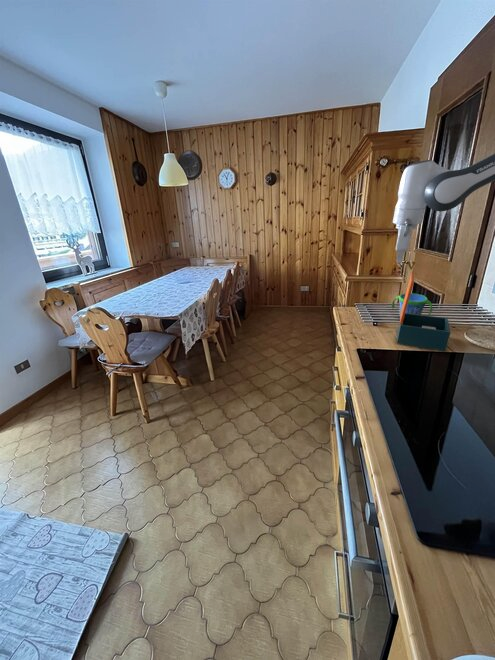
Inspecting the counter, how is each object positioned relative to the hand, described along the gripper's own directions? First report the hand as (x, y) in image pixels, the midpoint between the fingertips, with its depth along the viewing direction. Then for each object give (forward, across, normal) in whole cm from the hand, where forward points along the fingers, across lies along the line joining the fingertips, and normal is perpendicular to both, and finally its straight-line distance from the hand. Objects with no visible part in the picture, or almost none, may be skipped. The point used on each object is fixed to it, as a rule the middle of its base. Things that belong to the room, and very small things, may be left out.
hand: (399, 259), depth 100 cm
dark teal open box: (+30, 0, -13) cm, 33 cm away
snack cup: (+30, +19, -9) cm, 37 cm away
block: (+29, 0, -15) cm, 33 cm away
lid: (+14, 0, -5) cm, 15 cm away
